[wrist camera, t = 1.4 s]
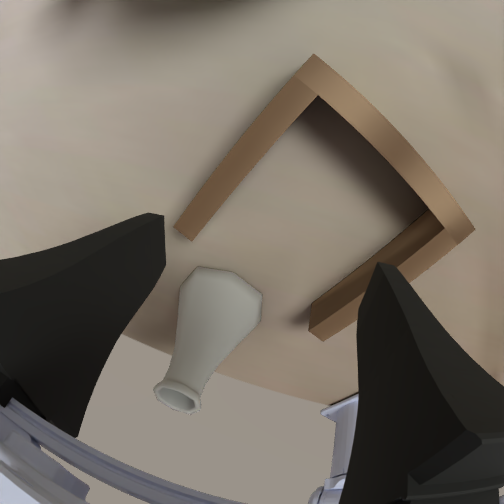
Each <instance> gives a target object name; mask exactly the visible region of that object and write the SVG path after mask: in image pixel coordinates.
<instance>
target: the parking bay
mask: <svg viewBox="0 0 504 504" xmlns="http://www.w3.org/2000/svg"><path fill="white" fill-rule="evenodd" d="M317 95H319V96H320V97H321V98H322V99H323V100H324V101H326V102H327V103H328V104H329V105H330V106H331V107H332V108H334V109H335V110H336V111H337V112H338V113H339V114H340V115H341V116H342V117H344V118H345V119H346V120H347V121H348V122H349V123H350V124H351V125H352V126H353V127H354V128H355V129H356V130H357V131H358V132H359V133H360V134H362V135H363V136H364V137H365V138H366V139H367V140H368V141H369V142H370V143H371V144H372V145H373V146H374V147H375V148H376V149H377V150H378V151H379V153H380V154H381V155H382V156H383V157H384V158H385V159H386V160H387V161H388V162H389V163H390V164H391V165H392V166H393V167H394V168H395V169H396V171H397V172H398V173H399V174H400V175H401V176H402V177H403V178H404V179H405V180H406V182H407V183H408V184H409V185H410V186H411V187H412V188H413V190H414V191H415V192H416V193H417V194H418V195H419V197H420V198H421V199H422V200H423V201H424V203H425V204H426V205H427V206H428V207H429V209H428V210H427V211H426V212H425V213H424V214H423V215H421V216H420V217H419V218H418V219H417V220H416V221H415V222H413V223H412V224H411V225H410V226H409V227H408V228H406V229H405V230H404V231H403V232H402V233H401V234H399V235H398V236H397V237H396V238H395V239H393V240H392V241H391V242H390V243H389V244H387V245H386V246H385V247H384V248H382V249H381V250H380V251H379V252H378V253H376V254H375V255H374V256H373V257H371V258H370V259H369V260H368V261H366V262H365V263H364V264H363V265H361V266H360V267H359V268H358V269H356V270H355V271H354V272H352V273H351V274H350V275H349V276H347V277H346V278H345V279H343V280H342V281H341V282H340V283H338V284H337V285H336V286H334V287H333V288H332V289H330V290H329V291H328V292H326V293H325V294H324V295H322V296H321V297H320V298H318V299H317V300H316V301H314V302H313V303H312V306H311V314H310V322H309V330H308V331H309V332H311V333H312V334H313V335H315V336H316V337H317V338H319V339H320V340H321V341H325V340H326V339H328V338H330V337H331V336H333V335H334V334H336V333H337V332H339V331H341V330H342V329H344V328H345V327H347V326H348V325H350V324H351V323H353V322H354V321H356V320H357V319H358V308H359V306H360V304H361V301H362V299H363V297H364V294H365V292H366V289H367V287H368V284H369V282H370V279H371V277H372V274H373V272H374V269H375V267H376V264H377V262H382V263H386V264H390V265H394V266H395V267H396V268H397V269H398V270H399V271H400V272H401V273H402V275H403V276H404V277H405V279H406V280H407V281H408V283H410V282H411V281H413V280H414V279H415V278H417V277H418V276H419V275H420V274H422V273H423V272H424V271H426V270H427V269H428V268H429V267H431V266H432V265H433V264H435V263H436V262H437V261H438V260H440V259H441V258H442V257H443V256H445V255H446V254H447V253H448V252H449V251H451V250H452V249H453V248H454V247H455V246H457V245H458V244H459V243H460V242H461V241H463V240H464V239H465V238H466V237H467V236H468V235H470V234H471V233H472V232H473V231H474V230H475V228H474V226H473V225H472V223H471V222H470V220H469V219H468V217H467V216H466V215H465V213H464V212H463V210H462V209H461V207H460V206H459V205H458V203H457V202H456V200H455V199H454V198H453V196H452V195H451V194H450V192H449V191H448V190H447V188H446V187H445V186H444V185H443V183H442V182H441V181H440V179H439V178H438V177H437V176H436V174H435V173H434V172H433V171H432V169H431V168H430V167H429V166H428V165H427V163H426V162H425V161H424V160H423V159H422V157H421V156H420V155H419V154H418V153H417V152H416V150H415V149H414V148H413V147H412V146H411V145H410V144H409V143H408V141H407V140H406V139H405V138H404V137H403V136H402V135H401V134H400V133H399V132H398V131H397V129H396V128H395V127H394V126H393V125H392V124H391V123H390V122H389V121H388V120H387V119H386V118H385V117H384V116H383V115H382V114H381V113H380V112H379V111H378V110H377V109H376V108H375V107H374V106H373V105H372V104H371V103H370V102H369V101H368V100H367V99H366V98H365V97H364V96H363V95H361V94H360V93H359V92H358V91H357V90H356V89H355V88H354V87H353V86H352V85H351V84H349V83H348V82H347V81H346V80H345V79H344V78H343V77H341V76H340V75H339V74H338V73H337V72H336V71H335V70H333V69H332V68H331V67H330V66H329V65H327V64H326V63H325V62H324V61H322V60H321V59H320V58H319V57H318V56H316V55H315V54H313V55H312V56H311V57H310V58H309V59H308V60H307V61H306V62H305V64H304V65H303V66H302V67H301V68H300V69H299V70H298V71H297V72H296V73H295V75H294V76H293V77H292V78H291V79H290V80H289V81H288V82H287V84H286V85H285V86H284V87H283V88H282V89H281V90H280V91H279V93H278V94H277V95H276V96H275V97H274V98H273V100H272V101H271V102H270V103H269V104H268V105H267V107H266V108H265V109H264V110H263V111H262V112H261V114H260V115H259V116H258V117H257V118H256V120H255V121H254V122H253V123H252V124H251V126H250V127H249V128H248V129H247V131H246V132H245V133H244V134H243V135H242V137H241V138H240V139H239V140H238V142H237V143H236V144H235V145H234V147H233V148H232V149H231V150H230V152H229V153H228V154H227V156H226V157H225V158H224V159H223V161H222V162H221V163H220V164H219V166H218V167H217V168H216V170H215V171H214V172H213V174H212V175H211V176H210V178H209V179H208V180H207V181H206V183H205V184H204V185H203V187H202V188H201V189H200V191H199V192H198V193H197V195H196V196H195V198H194V199H193V200H192V202H191V203H190V204H189V206H188V207H187V208H186V210H185V211H184V213H183V214H182V215H181V217H180V218H179V220H178V221H177V222H176V224H175V225H174V228H175V229H177V230H178V231H179V232H180V233H182V234H183V235H184V236H185V237H187V238H188V239H189V240H190V241H193V240H194V238H195V237H196V236H197V235H198V233H199V232H200V231H201V230H202V228H203V227H204V226H205V225H206V223H207V222H208V221H209V220H210V219H211V217H212V216H213V215H214V214H215V212H216V211H217V210H218V209H219V208H220V206H221V205H222V204H223V203H224V201H225V200H226V199H227V198H228V197H229V195H230V194H231V193H232V192H233V191H234V189H235V188H236V187H237V186H238V185H239V184H240V182H241V181H242V180H243V179H244V178H245V176H246V175H247V174H248V173H249V172H250V171H251V169H252V168H253V167H254V166H255V165H256V164H257V162H258V161H259V160H260V159H261V158H262V157H263V156H264V154H265V153H266V152H267V151H268V150H269V149H270V147H271V146H272V145H273V144H274V143H275V142H276V141H277V140H278V138H279V137H280V136H281V135H282V134H283V133H284V132H285V131H286V129H287V128H288V127H289V126H290V125H291V124H292V123H293V122H294V121H295V119H296V118H297V117H298V116H299V115H300V114H301V113H302V112H303V111H304V110H305V108H306V107H307V106H308V105H309V104H310V103H311V102H312V101H313V100H314V99H315V98H316V97H317Z"/></svg>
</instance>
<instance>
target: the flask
mask: <svg viewBox="0 0 504 504" xmlns="http://www.w3.org/2000/svg"><path fill="white" fill-rule="evenodd" d="M261 309H262V294H261V293H260V292H258V291H257V290H256V289H254V288H253V287H252V286H250V285H249V284H248V283H247V282H245V281H244V280H243V279H241V278H240V277H239V276H238V275H236V274H235V273H234V272H229V271H223V270H216V269H210V268H204V267H197V268H196V269H195V270H194V271H193V272H192V273H191V274H190V276H189V277H188V278H187V279H186V280H185V281H184V282H183V284H182V285H181V286H180V294H179V307H178V320H177V330H176V339H175V348H174V352H173V355H172V359H171V363H170V366H169V369H168V371H167V373H166V376H165V377H164V379H163V380H162V381H161V382H160V383H158V384H157V385H156V386H155V387H154V389H153V391H154V393H155V395H156V398H157V400H158V401H160V402H162V403H163V404H165V405H166V406H168V407H170V408H171V409H173V410H176V411H180V412H183V413H187V414H190V415H191V414H193V413H195V412H197V411H200V409H201V400H200V396H201V394H202V391H203V389H204V387H205V385H206V383H207V382H208V380H209V378H210V377H211V375H212V374H213V372H214V371H215V369H216V368H217V366H218V365H219V364H220V363H221V362H222V361H223V360H224V359H225V358H226V357H227V356H228V355H229V354H230V352H231V351H232V350H233V349H234V348H235V347H236V346H237V345H238V344H239V343H240V342H241V341H242V340H243V339H244V338H245V337H246V336H247V335H248V334H249V333H250V332H251V331H252V330H253V329H254V328H255V327H256V326H257V325H258V323H259V322H260V321H261Z"/></svg>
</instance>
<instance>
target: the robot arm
mask: <svg viewBox="0 0 504 504" xmlns="http://www.w3.org/2000/svg"><path fill="white" fill-rule="evenodd" d="M165 266H166V253H165V230H164V216H163V215H158V214H153V213H146V214H142V215H139V216H136V217H133V218H130V219H128V220H125V221H123V222H120V223H118V224H115V225H113V226H110V227H108V228H105V229H103V230H100V231H98V232H95V233H93V234H90V235H87V236H85V237H82V238H80V239H77V240H75V241H72V242H69V243H66V244H63V245H60V246H57V247H53V248H50V249H47V250H43V251H40V252H35V253H31V254H27V255H23V256H18V257H14V258H8V259H2V260H0V504H90V503H87V502H86V501H85V497H86V495H87V493H88V491H89V489H90V488H89V486H88V485H87V484H85V483H84V482H82V481H81V480H79V479H78V478H77V477H75V476H74V475H72V474H71V473H70V472H69V471H67V470H66V469H65V468H64V467H63V466H62V465H61V464H60V463H58V462H57V461H55V460H54V459H52V458H51V457H50V456H48V455H47V454H45V453H44V452H43V451H41V447H40V445H41V446H42V447H44V448H45V449H47V450H48V451H50V452H52V453H53V454H55V455H56V456H58V457H59V458H61V459H63V460H64V461H66V462H67V463H69V464H71V465H73V466H74V467H76V468H78V469H79V470H81V471H83V472H85V473H87V474H88V475H90V476H92V477H94V478H96V479H98V480H100V481H102V482H104V483H106V484H108V485H110V486H112V487H114V488H116V489H118V490H120V491H122V492H124V493H127V494H129V495H131V496H134V497H136V498H138V499H141V500H143V501H146V502H148V503H150V504H246V503H241V502H237V501H233V500H228V499H224V498H221V497H217V496H213V495H209V494H206V493H203V492H200V491H196V490H193V489H190V488H187V487H184V486H181V485H178V484H175V483H172V482H169V481H166V480H164V479H161V478H159V477H156V476H153V475H151V474H148V473H146V472H143V471H141V470H139V469H136V468H134V467H132V466H129V465H127V464H125V463H123V462H120V461H118V460H116V459H114V458H112V457H110V456H108V455H106V454H104V453H101V452H100V451H98V450H96V449H94V448H92V447H90V446H88V445H86V444H85V443H83V442H81V441H79V440H77V439H75V438H76V437H78V434H79V431H80V427H81V424H82V421H83V418H84V415H85V411H86V408H87V405H88V403H89V400H90V398H91V395H92V392H93V390H94V387H95V385H96V382H97V380H98V378H99V376H100V374H101V371H102V369H103V367H104V365H105V363H106V361H107V359H108V357H109V355H110V353H111V351H112V349H113V347H114V345H115V343H116V341H117V340H118V338H119V337H120V335H121V333H122V332H123V330H124V329H125V327H126V326H127V325H128V323H129V322H130V320H131V319H132V318H133V316H134V315H135V313H136V312H137V311H138V309H139V308H140V306H141V305H142V304H143V302H144V301H145V299H146V298H147V297H148V295H149V294H150V292H151V291H152V290H153V288H154V287H155V285H156V283H157V281H158V279H159V278H160V276H161V274H162V272H163V270H164V268H165ZM357 357H358V386H359V394H356V395H354V396H352V397H350V398H348V399H346V400H343V401H341V402H339V403H336V404H334V405H332V406H330V407H327V408H325V409H322V410H321V415H323V416H325V417H327V418H328V419H330V420H332V421H334V422H336V432H335V441H334V451H333V459H332V467H331V475H330V478H328V479H325V484H324V486H321V487H319V488H317V489H316V491H314V492H313V493H312V495H311V497H310V499H309V502H308V504H504V495H502V496H500V497H499V489H498V488H501V487H503V486H504V386H503V385H501V384H500V383H499V382H498V381H496V380H495V379H494V378H493V377H492V376H491V375H489V374H488V373H487V372H486V371H485V370H484V369H483V368H482V367H481V366H480V365H478V364H477V363H476V362H475V361H474V360H473V359H472V358H471V357H470V356H469V355H468V354H467V353H466V352H465V351H464V350H463V349H462V348H461V347H460V345H459V344H458V343H457V342H456V341H455V340H454V339H453V338H452V337H451V336H450V335H449V333H448V332H447V331H446V330H445V329H444V328H443V326H442V325H441V324H440V323H439V321H438V320H437V319H436V318H435V317H434V315H433V314H432V313H431V312H430V310H429V309H428V308H427V306H426V305H425V304H424V302H423V301H422V300H421V298H420V297H419V296H418V294H417V293H416V292H415V291H414V289H413V288H412V286H411V285H410V284H409V283H408V281H407V280H406V279H405V277H404V276H403V275H402V273H401V272H400V271H399V270H398V269H397V268H396V267H395V266H394V265H390V264H386V263H382V262H377V264H376V267H375V269H374V272H373V274H372V277H371V279H370V282H369V284H368V287H367V289H366V292H365V294H364V297H363V299H362V301H361V304H360V306H359V308H358V320H357Z"/></svg>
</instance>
